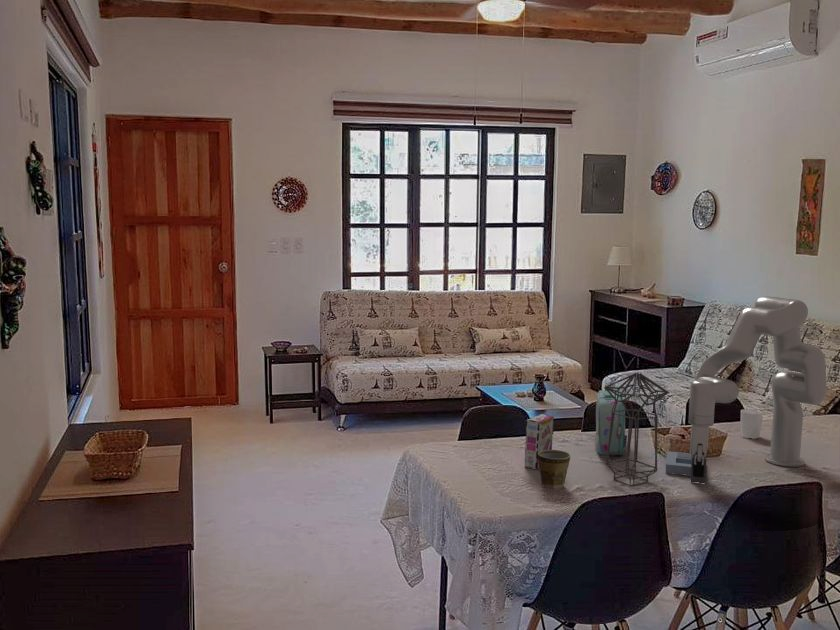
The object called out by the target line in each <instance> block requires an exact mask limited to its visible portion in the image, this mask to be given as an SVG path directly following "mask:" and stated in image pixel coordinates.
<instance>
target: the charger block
mask: <svg viewBox="0 0 840 630" xmlns="http://www.w3.org/2000/svg"><path fill="white" fill-rule="evenodd" d="M696 458H697V457H696ZM694 460H695V455H692V459H691V476H689V477H690V478H689V479H690V480H691V482H699V483H705V484H706V475H707V460H708V459H707V455H706V456H705V457H704V477H703V478H702V477H694V476H693V464H694Z"/></svg>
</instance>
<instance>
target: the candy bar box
mask: <svg viewBox="0 0 840 630" xmlns="http://www.w3.org/2000/svg"><path fill="white" fill-rule="evenodd" d="M554 417H555V416H553V415H550V414H549V415H548V414H543V413H541V414H538V415H536V416H534V417H531V418H529V419H526V427H525V428H526V429H525V446H524V466H526V467H530V468H529V469H531V468H534V469H533V470H535V469H537V470H538V468H539V469H540V467H539V462H538V452H540V451H543V450H553V433H554ZM526 467H525V468H526Z"/></svg>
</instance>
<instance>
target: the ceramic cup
mask: <svg viewBox="0 0 840 630" xmlns="http://www.w3.org/2000/svg"><path fill="white" fill-rule="evenodd" d="M570 460H571V454H570V453H569V452H567V451H564V450H558V449H552V450H543V451H540V452H538V462H539V467H540V468H539V473H540V479H541V480H540V481H541V485H542V486H543V485H544V486H543V487H545V488H546V487H548V488H547V489H552V488H558V489H562V488H563V487H564V486H565V482H566V478H567V472H568V469H569V465H570Z"/></svg>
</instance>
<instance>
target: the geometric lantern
mask: <svg viewBox="0 0 840 630" xmlns="http://www.w3.org/2000/svg"><path fill="white" fill-rule="evenodd" d="M623 381H624V382H623ZM632 381H633V383H632ZM620 382H623V383H622V384H620V386H618V387H616V386H613V385H615V384H618V383H620ZM652 385H653V386H652ZM654 386H655V387H656V388H657V389H655V388H654ZM637 387H638V394H637V395H636V388H637ZM628 388H629V389H628ZM603 389H604V390H605V391H608V393H609V394H610V395H611V396H612V397H613V399H614V400H615V402H616V403H615V402H614V405H615V407H614V405H613V408H614V411H613V408H612V411H613V412H612V411H611V412H612V414H611V424H610V433H609V443H608V452H607V455H606V461H605V465H606V467H608V468H609V470H611V472H612V473H613V481H616V482H619V483H622V484H624V485H626V486H629V487H634V486H638V485H643V484H647V483H649V477H650V476H652V475H653V474H655V473H657V471H658V425H659V424H658V423H659V421H658V420H659V415H658V414H657V407H656V403H657V402H658V401H659V400H661V399H663V398H664V397H665V396H666V395H668V394H670V391H668V390H667V389H665V388H664V387H662V386H660V385H659V384H658V383H656V382H655V381H653V380H651V379H650V378H648V377H647V376H645V375H644V374H643V373H641V372H640V373H639V372H633V373H632V374H630V375H628V376H626V377H624V378H621V379H618V380H616V381H614V382H612V383H609V384H607V385H605V386H604V387H603ZM621 389H622V390H621ZM627 389H628V390H627ZM658 389H659V390H658ZM619 390H621V392H620V391H619ZM610 391H611V392H612V393H614V394H615V397H614V396H613V395H612V394H611V392H610ZM631 391H632V393H629V392H631ZM646 391H648V392H649V393H650V394H647V392H646ZM617 392H618V394H617ZM641 392H642V393H641ZM619 393H620V395H619ZM616 395H617V399H616ZM619 397H620V399H621V400H618V398H619ZM621 397H622V398H624V399H623V400H622V398H621ZM632 397H637V398H640V400H641V401H642V405H641V406H640V407H639V409H634V408H633V406H632V405H631V403H630V402H629V399H630V398H632ZM644 397H645V398H646V399H645V400H644V399H643V398H644ZM649 400H651V401H652V402H649ZM626 401H627V403H628V405H629V406H630V408H631V409H628V408H627V407H626V404H625V402H626ZM617 402H622V403H623V405H624V409H625V410H619V411H615V409H616V405H617ZM651 405H652V407H653V412H654V413H651V412H647V411H644V410H642V409H643V408H644V407H645V406H647V407H648V406H651ZM621 411H625V412H626V413H627V415H628V416H626V415H625V416H624V415H620V414H617V413H615V412H621ZM630 411H631V414H630ZM635 412H637V413H636V414H635ZM640 412H641V413H644V414H648V415H651V416H647V417H640ZM615 414H617V415H620V416H623V417H625V419H626V418H627V419H629V420H628V427H627V428H628V429H627V430H628V431H627V444H626V456H625V459H622V460H621V459H619V460H613V461H609V459H610V458H609V456H610V455H609V450H610V443H611V436H612V429H613V423H614V415H615ZM645 419H646V420H647V419H654V465H651V464H649V463H646V462H642V461H640V460H638V455H639V454H638V453H639V452H638V451H639V429H640V420H645ZM633 426H634V442H633V443H634V444H633V445H634V447H633V448H634V450H633V452H634V457H633V458H634V459H631V458H630V452H631V443H632V434H633ZM622 462H625V468H624V469H620V468H618V467H616V466H613V465H610V464H615V463H622ZM630 462H633V465H632V467H631V469H630ZM637 463H638V464H641V465H645V466H646V467H649V468H653V469H651V470H643V471H641V470H640V471H638V470H637ZM615 470H616V471H615ZM620 473H624V475H623V474H620ZM637 474H641V475H644V476H637ZM616 475H618V476H616ZM631 477H632V478H631ZM618 478H619V479H620V478H625V479H628V480H629V483H627V482H624V481H622V480H618ZM645 478H646V479H645ZM638 479H640V480H642V481H643V482H639V483H635V480H638Z"/></svg>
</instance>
